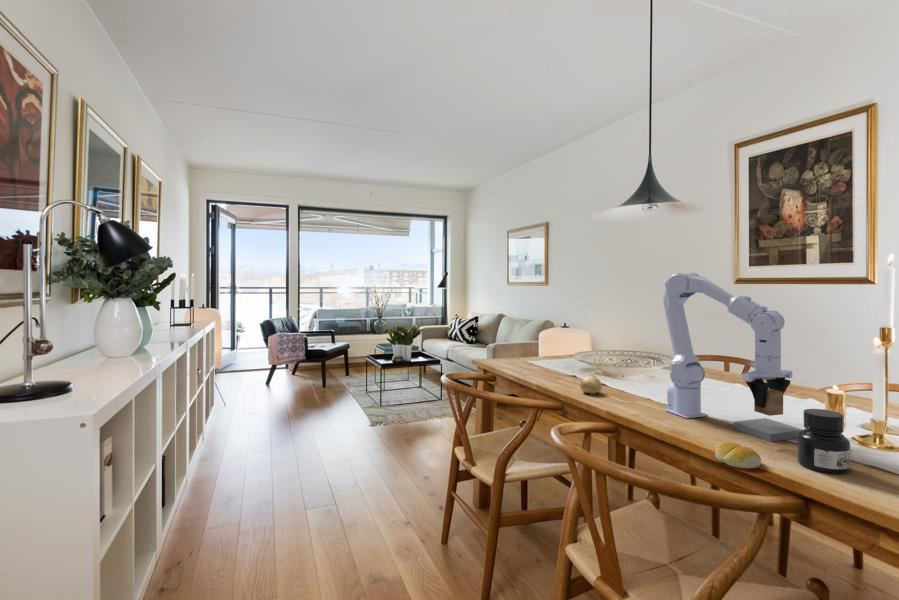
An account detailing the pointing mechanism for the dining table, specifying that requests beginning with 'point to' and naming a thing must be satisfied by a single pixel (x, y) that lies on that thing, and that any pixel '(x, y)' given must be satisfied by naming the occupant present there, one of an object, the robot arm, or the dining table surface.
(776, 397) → the walnut block
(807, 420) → the ink bottle
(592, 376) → the onion
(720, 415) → the dining table surface
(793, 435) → the slate base
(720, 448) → the bread roll
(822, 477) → the dining table surface
